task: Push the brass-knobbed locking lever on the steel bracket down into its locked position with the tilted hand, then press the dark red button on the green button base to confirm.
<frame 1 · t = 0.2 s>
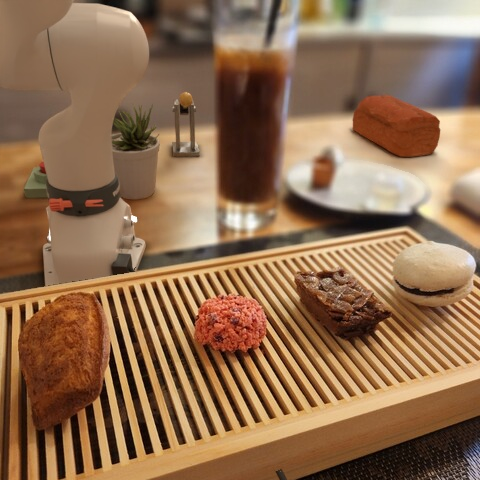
potted plant: (135, 194, 107), on the table
lock button: (49, 167, 105), point 4 cm above the table, slide at 0.1 cm
green button base: (53, 186, 108), on the table
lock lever: (185, 104, 115), point 14 cm above the table, hinge at 25.0°
lock bracket: (185, 151, 128), on the table
bread: (390, 141, 142), on the table
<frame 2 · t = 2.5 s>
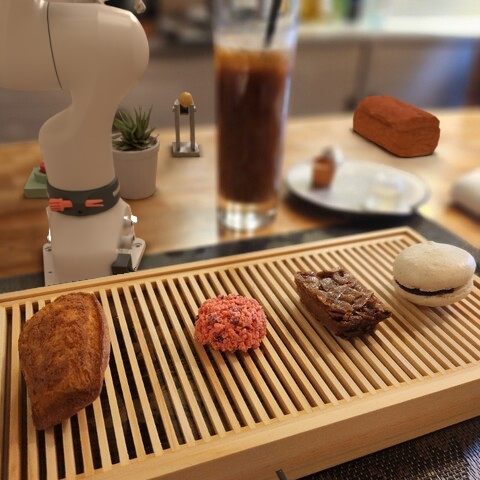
hand: (129, 16, 100), 32 cm above the table, tool tilted 40°, fingers open, 8 cm apart
nothing on the table moved.
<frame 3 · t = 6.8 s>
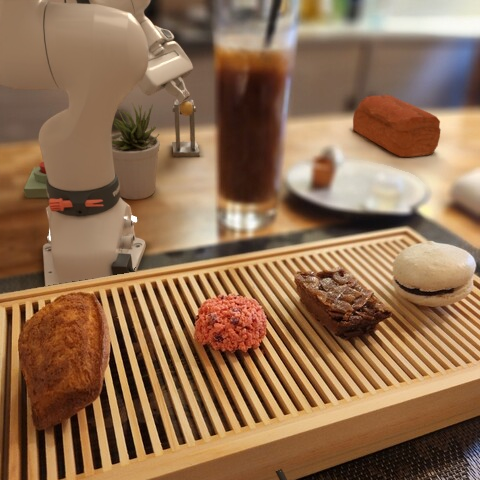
hand: (185, 98, 108), 17 cm above the table, tool tilted 45°, fingers closed
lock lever: (185, 108, 115), point 13 cm above the table, hinge at 16.6°, touching gripper
everything else where it was.
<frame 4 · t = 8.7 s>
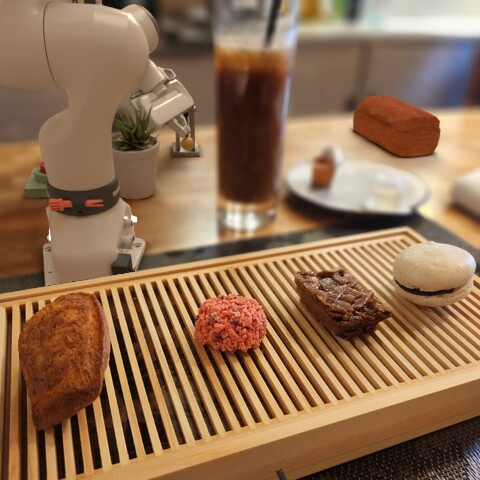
hand: (187, 134, 114), 8 cm above the table, tool tilted 45°, fingers closed, pressing on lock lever
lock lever: (185, 126, 118), point 9 cm above the table, hinge at -21.0°, touching gripper
everything else where it was.
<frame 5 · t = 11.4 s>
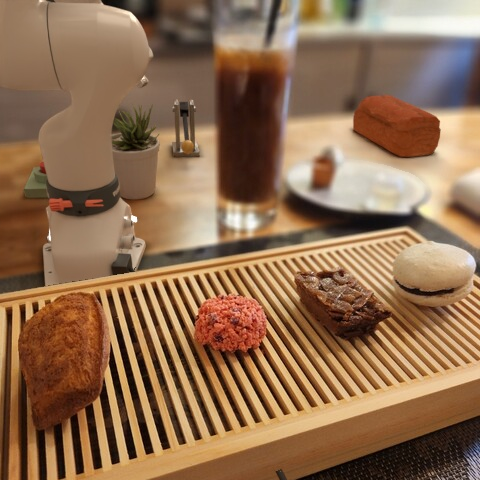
hand: (144, 85, 110), 18 cm above the table, tool tilted 45°, fingers closed
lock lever: (185, 128, 119), point 8 cm above the table, hinge at -25.5°
everything else where it was.
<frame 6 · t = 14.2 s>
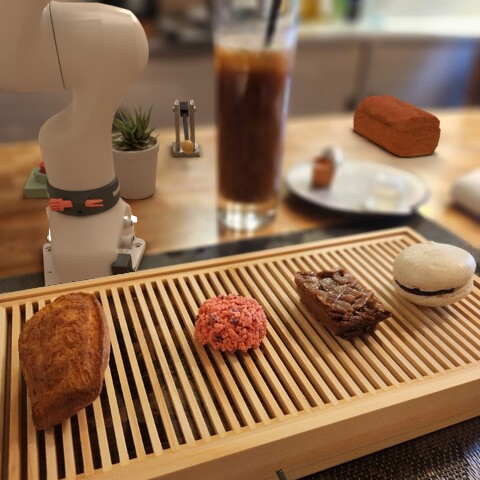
hand: (39, 88, 96), 21 cm above the table, tool pointing down, fingers closed
nothing on the table moved.
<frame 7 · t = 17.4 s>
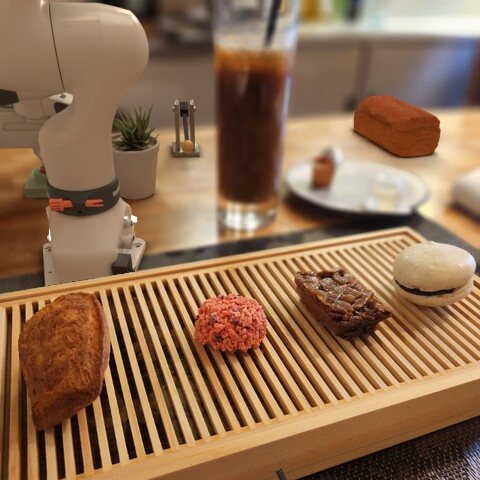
hand: (50, 166, 105), 5 cm above the table, tool pointing down, fingers closed, pressing on lock button
lock button: (50, 170, 106), point 4 cm above the table, slide at -0.7 cm, touching gripper
everything else where it was.
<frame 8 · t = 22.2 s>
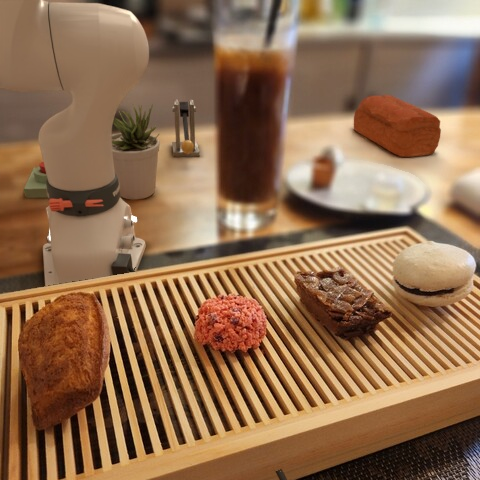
hand: (28, 22, 96), 31 cm above the table, tool pointing down, fingers closed
lock button: (49, 167, 105), point 4 cm above the table, slide at 0.1 cm
everything else where it was.
at the end: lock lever at -26° (first picture: +25°); lock button pushed in 1.0 cm at the most during the clip, back to where it started at the end; lock button slide at 0.1 cm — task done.
